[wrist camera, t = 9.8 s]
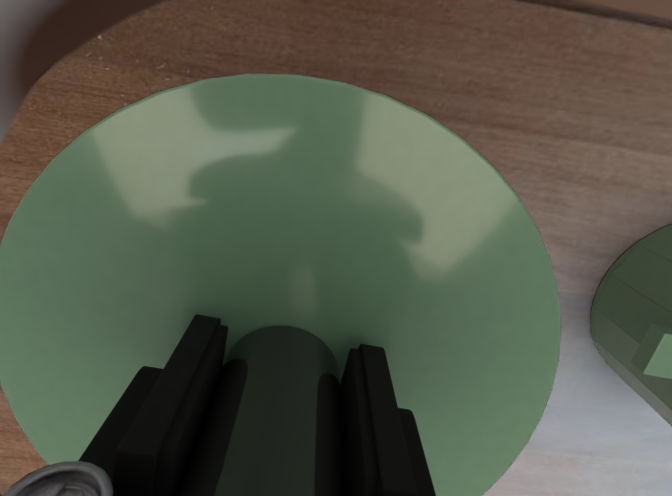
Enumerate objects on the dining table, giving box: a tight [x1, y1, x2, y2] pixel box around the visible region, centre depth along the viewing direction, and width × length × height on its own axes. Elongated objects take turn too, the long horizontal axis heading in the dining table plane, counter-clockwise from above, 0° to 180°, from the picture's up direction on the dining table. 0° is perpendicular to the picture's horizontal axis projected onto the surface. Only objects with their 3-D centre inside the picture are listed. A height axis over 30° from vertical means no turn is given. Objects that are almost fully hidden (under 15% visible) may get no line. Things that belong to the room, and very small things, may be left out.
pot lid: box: [0, 73, 561, 496], centre depth 9 cm, size 14×14×6 cm
